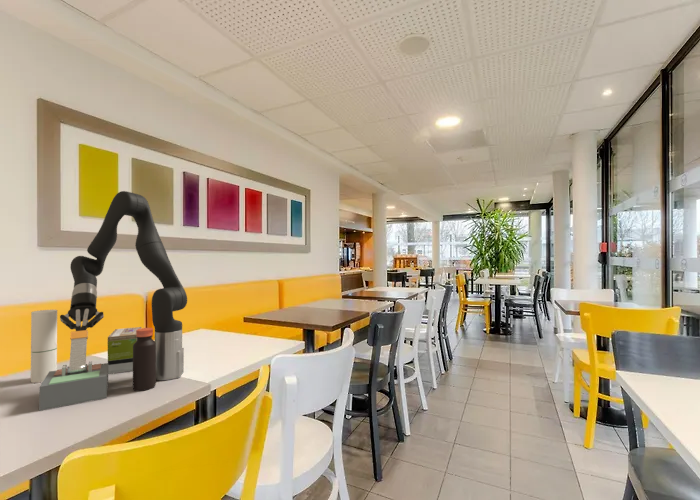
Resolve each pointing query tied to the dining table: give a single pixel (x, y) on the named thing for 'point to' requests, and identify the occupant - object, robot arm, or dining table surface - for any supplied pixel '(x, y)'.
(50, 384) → the switch box
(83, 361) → the lever
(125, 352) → the tea box
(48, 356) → the cylindrical container
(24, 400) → the dining table surface
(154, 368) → the bottle
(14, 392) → the dining table surface
